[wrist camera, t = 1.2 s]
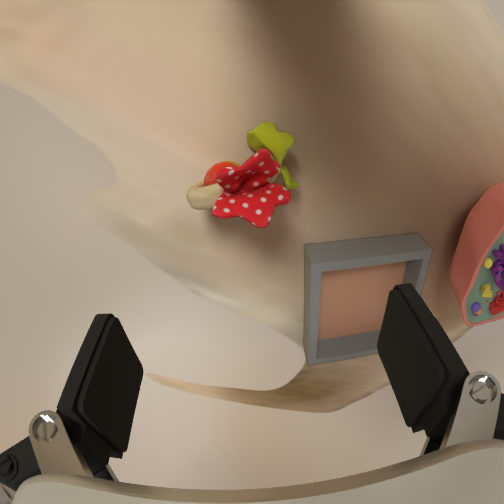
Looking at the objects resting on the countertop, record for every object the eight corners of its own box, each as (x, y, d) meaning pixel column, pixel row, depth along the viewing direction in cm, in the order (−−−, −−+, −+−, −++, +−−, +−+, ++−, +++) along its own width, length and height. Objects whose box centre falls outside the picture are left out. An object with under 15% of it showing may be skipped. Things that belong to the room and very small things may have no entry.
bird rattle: (237, 197, 30) (323, 175, 25) (183, 272, 22) (295, 256, 18) (208, 143, 27) (296, 109, 22) (137, 203, 19) (250, 161, 15)
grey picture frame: (304, 244, 30) (311, 263, 28) (417, 233, 30) (432, 249, 27) (303, 344, 38) (307, 365, 35) (394, 329, 38) (403, 347, 35)
